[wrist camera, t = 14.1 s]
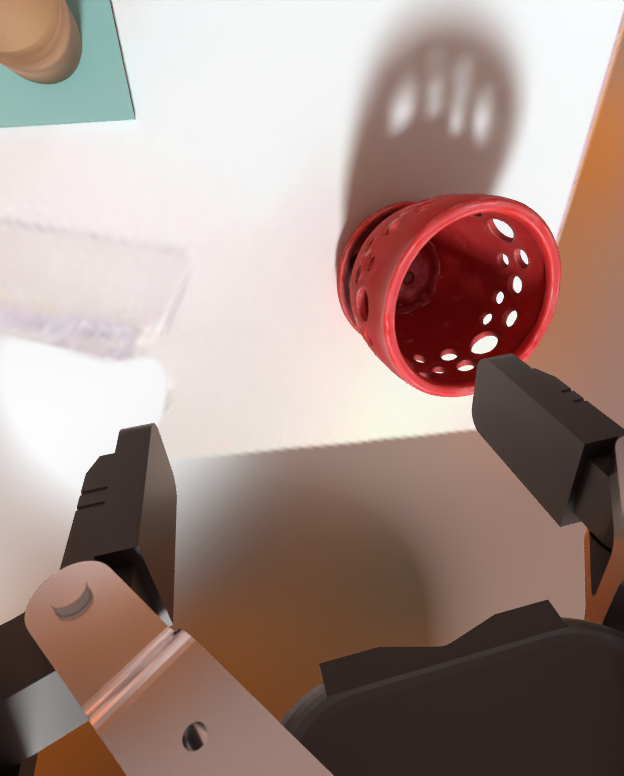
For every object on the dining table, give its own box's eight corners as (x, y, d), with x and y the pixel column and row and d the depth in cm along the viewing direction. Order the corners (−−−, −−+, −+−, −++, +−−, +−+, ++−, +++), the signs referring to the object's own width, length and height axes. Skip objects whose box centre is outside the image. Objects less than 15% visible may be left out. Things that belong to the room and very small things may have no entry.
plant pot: (477, 299, 44) (576, 345, 33) (353, 364, 43) (415, 432, 33) (445, 154, 37) (557, 157, 27) (297, 229, 36) (353, 262, 26)
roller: (66, -21, 26) (25, -111, 17) (92, 81, 28) (67, 47, 20) (-30, -20, 25) (-125, -114, 16) (5, 87, 27) (-62, 53, 19)
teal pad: (94, -69, 26) (94, -72, 25) (135, 119, 30) (134, 119, 30) (-93, -73, 24) (-97, -77, 23) (-22, 129, 28) (-24, 129, 28)
